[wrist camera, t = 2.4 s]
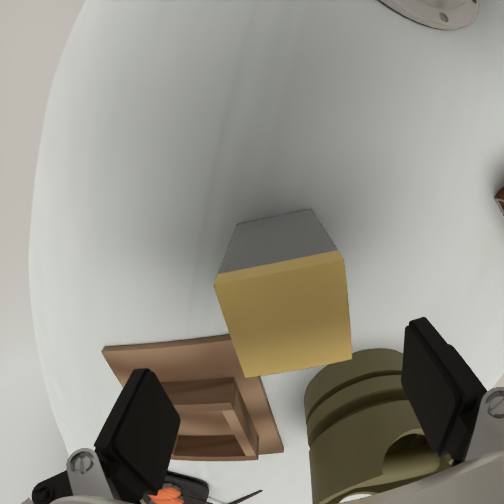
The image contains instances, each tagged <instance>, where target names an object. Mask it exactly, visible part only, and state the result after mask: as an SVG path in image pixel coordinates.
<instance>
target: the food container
mask: <svg viewBox="0 0 504 504" xmlns="http://www.w3.org/2000/svg"><path fill="white" fill-rule="evenodd" d="M494 198H495V200H496V202H497V204H498V206H499V208H500V209H501V211H502V213H503V215H504V187H503V188H502V189H501V190H500V191H499V192H498V193H497V195H496V196H495V197H494Z"/></svg>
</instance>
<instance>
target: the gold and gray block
mask: <svg viewBox="0 0 504 504" xmlns="http://www.w3.org/2000/svg"><path fill="white" fill-rule="evenodd" d="M214 288H215V291H216V294H217V297H218V300H219V303H220V306H221V309H222V312H223V315H224V318H225V321H226V324H227V327H228V330H229V333H230V336H231V339H232V342H233V345H234V348H235V350H236V353H237V356H238V359H239V362H240V364H241V367H242V370H243V373H244V376H245V378H247V377H255V376H263V375H270V374H276V373H283V372H289V371H295V370H301V369H306V368H312V367H317V366H322V365H327V364H332V363H336V362H341V361H345V360H350V359H352V345H351V329H350V315H349V303H348V293H347V283H346V274H345V265H344V259H343V257H342V255H341V254H340V252H339V251H338V249H337V248H336V246H335V244H334V243H333V241H332V240H331V238H330V237H329V235H328V234H327V232H326V230H325V229H324V227H323V226H322V224H321V223H320V221H319V220H318V218H317V217H316V215H315V214H314V212H313V211H312V209H307V210H302V211H297V212H292V213H288V214H283V215H278V216H273V217H269V218H264V219H259V220H255V221H250V222H245V223H241V224H237V226H236V229H235V231H234V234H233V236H232V239H231V241H230V244H229V247H228V249H227V252H226V254H225V257H224V259H223V262H222V264H221V267H220V270H219V272H218V275H217V277H216V280H215V283H214Z"/></svg>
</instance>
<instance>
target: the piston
mask: <svg viewBox="0 0 504 504" xmlns="http://www.w3.org/2000/svg"><path fill="white" fill-rule="evenodd" d="M402 364H403V354H402V353H400V352H398V351H395V350H391V349H382V348H378V349H368V350H363V351H359V352H355V353H352V359H350V360H345V361H341V362H336V363H332V364H329V365H328V366H327V367H325V368H324V369H323V370H321V371H320V372H319V373H318V374H317V375H316V376H315V377H314V378H313V379H312V381H311V382H310V384H309V385H308V387H307V389H306V392H305V396H304V404H305V414H306V424H307V435H308V444H309V447H310V451H309V459H310V471H311V485H312V500H313V504H337V503H339V502H340V501H341V500H342V499H344V498H346V497H348V496H351V495H355V494H371V495H375V494H379V493H382V492H385V491H389V490H392V489H395V488H398V487H401V486H404V485H407V484H410V483H413V482H416V481H418V480H421V479H424V478H426V477H429V476H431V475H434V474H436V473H439V472H441V471H443V470H446V469H449V468H450V467H451V464H452V461H453V459H451V457H450V455H449V454H448V455H445V456H443V457H441V458H439V456H438V453H437V452H435V453H433V452H432V450H431V448H430V446H429V443H428V441H427V439H426V437H425V434H424V432H423V430H422V428H421V425H420V423H419V421H418V419H417V417H416V414H415V412H414V410H413V408H412V406H411V404H410V402H409V400H408V398H407V396H406V393H405V391H404V389H403V387H402V384H401V373H402Z"/></svg>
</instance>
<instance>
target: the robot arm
mask: <svg viewBox="0 0 504 504" xmlns="http://www.w3.org/2000/svg"><path fill="white" fill-rule="evenodd" d="M381 1H382V2H383V3H385V4H386V5H388V6H389V7H390V8H392V9H394V10H396V11H397V12H399V13H401V14H402V15H404V16H406V17H408V18H410V19H412V20H414V21H416V22H419V23H421V24H424V25H427V26H430V27H433V28H438V29H443V30H455V29H459V28H463V27H465V26H466V25H468V24H470V23H472V22H473V21H474V20H475V19H476V17H477V14H478V12H479V0H381ZM401 384H402V387H403V389H404V391H405V393H406V396H407V398H408V400H409V402H410V404H411V406H412V408H413V410H414V412H415V414H416V417H417V419H418V421H419V423H420V425H421V428H422V430H423V432H424V434H425V437H426V439H427V441H428V443H429V446H430V448H431V450H432V452H433V453H435V452H437V453H438V456H439V458H441V457H443V456H445V455H448V454H449V455H450V457H451V459H453V461H452V464H451V467H450V468H449V469H446V470H443V471H441V472H439V473H436V474H434V475H431V476H429V477H426V478H424V479H421V480H418V481H416V482H413V483H410V484H407V485H404V486H401V487H398V488H395V489H392V490H389V491H385V492H382V493H379V494H375V495H371V496H368V497H364V498H360V499H356V500H351V501H347V502H342V503H337V504H504V387H496V388H493V389H491V390H489V391H488V392H487V390H486V389H485V387H484V386H483V385H482V383H481V382H480V381H479V379H478V378H477V377H476V375H475V374H474V373H473V371H472V370H471V369H470V367H469V366H468V365H467V363H466V362H465V361H464V359H463V358H462V357H461V356H460V354H459V353H458V352H457V351H456V349H455V348H454V347H453V346H452V345H449V344H447V343H446V341H445V340H444V339H443V338H442V336H441V335H440V334H439V333H438V332H437V330H436V329H435V328H434V327H433V326H432V324H431V323H430V322H429V321H428V320H427V318H425V317H421V318H418V319H415V320H412V321H410V322H409V326H406V328H405V338H404V352H403V364H402V373H401ZM180 423H181V419H180V416H179V414H178V412H177V411H176V409H175V407H174V406H173V404H172V402H171V401H170V399H169V397H168V395H167V394H166V392H165V390H164V388H163V387H162V385H161V383H160V381H159V380H158V378H157V376H156V374H155V373H154V372H152V371H151V370H150V369H149V368H139V369H134V370H133V371H132V373H131V375H130V377H129V379H128V380H127V382H126V384H125V386H124V388H123V390H122V391H121V393H120V395H119V397H118V399H117V401H116V403H115V405H114V407H113V408H112V410H111V412H110V414H109V416H108V418H107V420H106V422H105V424H104V426H103V428H102V430H101V432H100V434H99V436H98V438H97V440H96V442H95V444H94V446H95V447H96V449H95V451H93V450H92V449H89V448H82V449H79V450H77V451H75V452H74V453H72V454H71V455H70V457H69V459H68V460H67V464H66V465H67V470H66V471H64V472H62V473H60V474H58V475H55V476H53V477H51V478H49V479H47V480H44V481H42V482H40V483H38V484H37V485H36V486H35V487H34V489H33V491H32V500H31V499H30V498H28V499H27V500H25V501H24V502H23V503H22V504H146V503H145V502H144V500H143V495H144V494H147V495H153V496H157V494H158V491H159V490H161V489H162V487H163V484H164V480H165V477H166V473H167V469H168V466H169V462H170V459H171V455H172V452H173V448H174V444H175V441H176V437H177V434H178V430H179V427H180Z"/></svg>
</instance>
